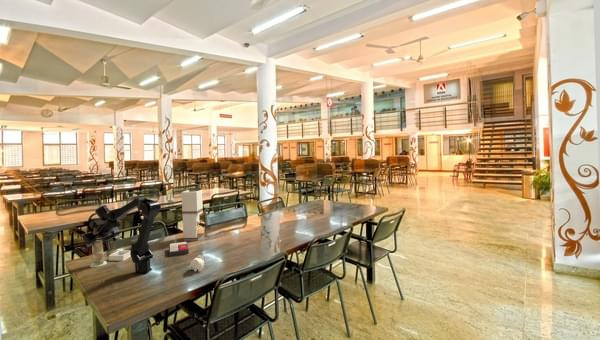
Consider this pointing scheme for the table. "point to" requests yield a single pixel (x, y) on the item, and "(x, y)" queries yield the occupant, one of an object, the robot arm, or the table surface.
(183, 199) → the tall white pillar
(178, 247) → the calculator
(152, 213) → the robot arm
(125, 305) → the table surface
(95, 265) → the coaster
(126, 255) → the pocket
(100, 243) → the peg
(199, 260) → the white rounded lump
